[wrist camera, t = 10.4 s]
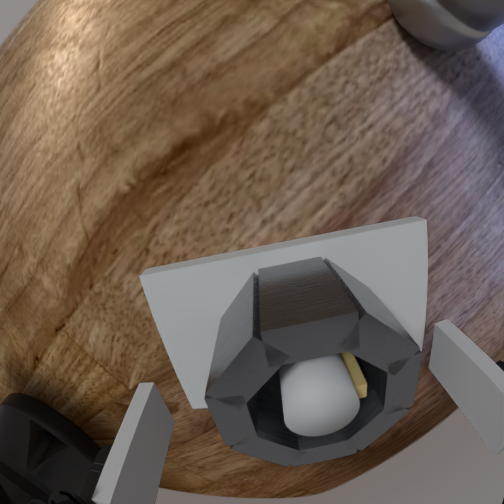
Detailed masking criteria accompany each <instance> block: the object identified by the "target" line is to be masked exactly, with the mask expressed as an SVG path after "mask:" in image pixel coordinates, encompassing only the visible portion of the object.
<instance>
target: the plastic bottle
mask: <svg viewBox="0 0 504 504" xmlns="http://www.w3.org/2000/svg"><path fill="white" fill-rule="evenodd" d="M388 2H389V5H390V8H391V10H392V13H393V15H394V16H395V18H396V20H397V21H398V22H399V24H400V25H401V26H402V27H403V28H404V29H405V30H406V31H407V32H408V33H409V34H410V35H411V36H412V37H414V38H415V39H417V40H418V41H420V42H421V43H423V44H425V45H427V46H430V47H432V48H435V49H438V50H441V51H447V52H451V51H458V50H463V49H469V48H471V47H473V46H475V45H476V44H477V43H479V42H480V41H482V40H483V39H485V38H486V37H487V36H488V35H489V34H490V33H491V32H492V31H493V30H494V29H495V28H497V27H499V26H500V25H502V24H504V0H388Z"/></svg>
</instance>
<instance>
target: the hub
mask: <svg viewBox="0 0 504 504" xmlns="http://www.w3.org/2000/svg"><path fill="white" fill-rule="evenodd" d="M346 351H348V352H350V353H352V354H353V355H354V357H355V359H356V361H357V363H358V365H359V367H360V370H361V372H362V374H363V376H364V378H365V380H366V382H367V397H363V398H360V399H359V401H360V408H359V411H358V413H357V415H356V416H355V418H354V419H353V420H352V421H351V422H350V423H349V424H347V425H346V426H345V427H343V428H342V429H340V430H338V431H335V432H333V433H330V434H326V435H322V436H303V435H299V434H296V433H294V432H292V431H291V430H290V429H289V428H288V427H287V426H286V424H285V422H284V413H283V404H282V394H281V385H280V375H279V368H280V367H281V366H282V365H286V364H291V363H296V362H301V361H306V360H311V359H316V358H320V357H325V356H329V355H333V354H337V353H342V352H346ZM421 356H422V352H421V351H420V347H419V346H418V344H417V343H416V342H415V341H414V339H413V338H412V337H411V336H410V335H409V333H408V332H407V331H406V330H405V329H404V327H403V326H402V325H401V324H400V323H399V321H398V320H397V319H396V318H395V317H394V316H393V314H392V313H391V312H390V311H389V310H388V309H387V307H386V306H385V305H384V304H383V303H382V302H381V300H380V299H379V298H378V297H377V296H376V295H375V294H374V292H373V291H372V290H371V289H370V288H369V287H367V286H366V285H365V284H363V283H362V282H360V281H359V280H358V279H356V278H355V277H353V276H352V275H350V274H349V273H348V272H346V271H345V270H343V269H342V268H340V267H339V266H337V265H336V264H335V263H333V262H332V261H330V260H329V259H327V258H325V259H324V261H323V259H322V258H321V257H315V258H310V259H305V260H300V261H295V262H291V263H286V264H281V265H275V266H270V267H265V268H260V269H258V275H257V274H256V273H254V272H253V273H252V275H251V276H250V278H249V279H248V280H247V282H246V283H245V285H244V286H243V287H242V289H241V290H240V292H239V293H238V295H237V296H236V297H235V299H234V300H233V302H232V303H231V305H230V306H229V307H228V309H227V310H226V312H225V313H224V314H223V316H222V317H221V320H220V324H219V329H218V334H217V338H216V343H215V348H214V353H213V357H212V362H211V367H210V372H209V376H208V381H207V386H206V391H205V398H204V400H205V402H206V404H207V406H208V409H209V411H210V413H211V415H212V417H213V420H214V422H215V424H216V426H217V428H218V430H219V432H220V434H221V436H222V438H223V440H224V442H225V444H226V446H229V445H231V446H230V449H232V450H235V451H238V452H241V453H244V454H247V455H250V456H253V457H256V458H259V459H263V460H266V461H269V462H273V463H276V464H280V465H284V466H289V465H290V464H292V465H293V467H294V466H300V465H306V464H311V463H316V462H321V461H326V460H330V459H335V458H339V457H343V456H347V455H351V454H355V453H357V449H358V450H363V449H364V448H366V447H367V446H368V445H370V444H371V443H372V442H373V441H375V440H376V439H377V438H378V437H380V436H381V435H382V434H383V433H385V432H386V431H387V430H388V429H389V428H391V427H392V426H393V425H394V424H395V423H396V422H397V421H399V420H400V419H401V418H402V417H403V416H404V415H405V414H406V413H407V412H408V411H410V410H409V408H408V407H411V406H413V402H414V397H415V392H416V387H417V382H418V376H419V370H420V363H421Z"/></svg>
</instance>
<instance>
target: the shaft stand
mask: <svg viewBox="0 0 504 504" xmlns="http://www.w3.org/2000/svg"><path fill="white" fill-rule="evenodd" d="M315 257H321V258H322V259H323V261H324V259H325V258H327V259H329V260H330V261H332V262H333V263H335V264H336V265H337V266H339V267H340V268H342V269H343V270H345V271H346V272H348V273H349V274H350V275H352V276H353V277H355V278H356V279H358V280H359V281H360V282H362V283H363V284H365V285H366V286H367V287H369V288H370V289H371V290H372V291H373V292H374V294H375V295H376V296H377V297H378V298H379V299H380V300H381V302H382V303H383V304H384V305H385V306H386V307H387V309H388V310H389V311H390V312H391V313H392V314H393V316H394V317H395V318H396V319H397V320H398V321H399V323H400V324H401V325H402V326H403V327H404V329H405V330H406V331H407V332H408V333H409V335H410V336H411V337H412V338H413V339H414V341H415V342H416V343H417V344H418V346H419V347H420V351H421V352H422V346H423V338H424V328H425V317H426V303H427V279H428V244H427V220H426V219H423V218H420V217H418V216H413V217H408V218H403V219H398V220H393V221H387V222H382V223H377V224H372V225H367V226H361V227H356V228H351V229H346V230H341V231H335V232H330V233H325V234H320V235H315V236H310V237H305V238H299V239H294V240H289V241H284V242H279V243H274V244H269V245H264V246H259V247H254V248H248V249H243V250H238V251H233V252H228V253H223V254H218V255H213V256H208V257H203V258H198V259H193V260H188V261H183V262H178V263H173V264H168V265H163V266H158V267H153V268H148V269H146V270H145V271H144V272H143V273H142V274H141V275H140V276H139V277H140V280H141V283H142V286H143V289H144V292H145V295H146V298H147V301H148V304H149V306H150V309H151V312H152V315H153V317H154V320H155V323H156V325H157V328H158V331H159V333H160V336H161V338H162V341H163V343H164V346H165V348H166V351H167V353H168V355H169V358H170V360H171V363H172V365H173V367H174V369H175V372H176V374H177V376H178V379H179V381H180V383H181V385H182V387H183V389H184V392H185V394H186V396H187V398H188V400H189V402H190V404H191V406H192V408H193V409H197V408H208V406H207V404H206V402H205V400H204V398H205V391H206V386H207V381H208V376H209V372H210V367H211V362H212V357H213V353H214V348H215V343H216V338H217V334H218V329H219V324H220V320H221V317H222V316H223V314H224V313H225V312H226V310H227V309H228V307H229V306H230V305H231V303H232V302H233V300H234V299H235V297H236V296H237V295H238V293H239V292H240V290H241V289H242V287H243V286H244V285H245V283H246V282H247V280H248V279H249V278H250V276H251V275H252V273H253V272H254V273H256V274H257V275H258V269H260V268H265V267H270V266H275V265H281V264H286V263H291V262H295V261H300V260H305V259H310V258H315ZM279 375H280V385H281V394H282V404H283V413H284V422H285V424H286V426H287V427H288V428H289V429H290V430H291V431H292V432H294V433H296V434H299V435H303V436H322V435H326V434H330V433H333V432H335V431H338V430H340V429H342V428H343V427H345V426H346V425H347V424H349V423H350V422H351V421H352V420H353V419H354V418H355V416H356V415H357V413H358V411H359V408H360V401H359V399H360V398H363V397H367V382H366V380H365V378H364V376H363V374H362V372H361V370H360V367H359V365H358V363H357V361H356V359H355V357H354V355H353V354H352V353H350V352H348V351H346V352H342V353H337V354H333V355H329V356H325V357H320V358H316V359H311V360H306V361H301V362H296V363H291V364H286V365H282V366H281V367H280V368H279Z"/></svg>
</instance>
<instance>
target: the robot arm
mask: <svg viewBox="0 0 504 504" xmlns="http://www.w3.org/2000/svg"><path fill="white" fill-rule="evenodd" d="M429 369H430V370H431V372H432V373H433V374H434V375H435V377H436V378H437V379H438V381H439V382H440V383H441V384H442V386H443V387H444V388H445V390H446V391H447V392H448V394H449V395H450V396H451V398H452V399H453V400H454V402H455V403H456V404H457V406H458V407H459V408H460V410H461V411H462V412H463V414H464V415H465V417H466V418H467V419H468V421H469V422H470V424H471V425H472V426H473V428H474V429H475V431H476V432H477V433H478V435H479V436H480V438H481V439H482V441H483V442H484V444H485V445H486V446H487V448H488V449H489V451H490V453H491V454H492V455H493V457H494V456H496V455H497V454H499V453H500V452H501V451H502V450H504V362H503V361H501V360H499V361H498V362H496V363H495V362H494V361H493V360H492V359H490V358H489V357H488V356H487V355H486V354H485V353H484V352H483V351H482V350H481V349H480V348H479V347H478V346H477V345H476V344H475V343H473V342H472V341H471V340H470V339H469V338H468V337H467V336H466V335H465V334H464V333H462V332H461V331H460V330H459V329H458V328H457V327H456V326H455V325H454V324H452V323H451V322H450V321H449V320H448V319H446V320H443V321H441V322H438V323H435V327H434V335H433V343H432V350H431V356H430V362H429ZM174 422H175V421H174V419H173V417H172V416H171V414H170V412H169V410H168V408H167V406H166V405H165V403H164V401H163V399H162V397H161V395H160V393H159V391H158V389H157V388H156V386H155V384H154V382H152V383H139V385H138V388H137V390H136V392H135V394H134V397H133V399H132V401H131V403H130V406H129V408H128V410H127V413H126V415H125V417H124V419H123V422H122V424H121V426H120V429H119V431H118V434H117V436H116V438H115V441H114V443H113V446H112V445H104V447H103V448H102V449H101V450H100V449H99V448H98V447H97V446H96V445H95V444H94V443H93V442H92V441H91V440H90V439H89V438H88V437H87V436H86V435H85V434H84V433H83V432H81V431H80V430H79V429H78V428H77V427H75V426H74V425H73V424H72V423H70V422H69V421H68V420H66V419H65V418H64V417H62V416H61V415H59V414H58V413H57V412H55V411H54V410H52V409H51V408H49V407H47V406H46V405H44V404H42V403H41V402H39V401H37V400H35V399H33V398H31V397H29V396H26V395H23V394H19V393H12V394H9V395H8V396H7V397H6V399H5V400H4V401H3V402H2V403H1V404H0V504H155V501H156V497H157V492H158V488H159V484H160V479H161V475H162V471H163V467H164V462H165V458H166V454H167V450H168V446H169V442H170V438H171V434H172V430H173V426H174ZM502 504H504V499H503V503H502Z"/></svg>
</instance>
